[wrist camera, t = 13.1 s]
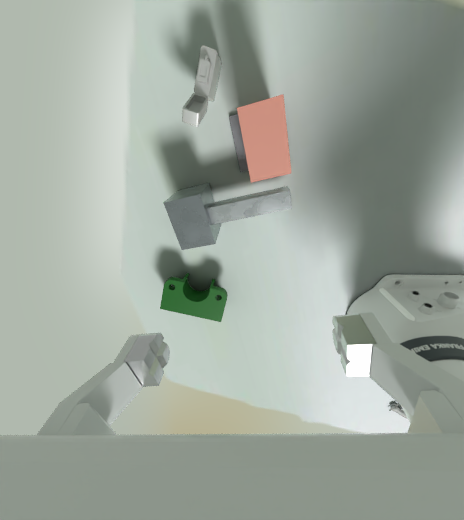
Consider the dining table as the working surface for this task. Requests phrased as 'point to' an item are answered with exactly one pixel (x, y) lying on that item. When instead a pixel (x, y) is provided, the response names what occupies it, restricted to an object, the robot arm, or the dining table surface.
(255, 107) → the tall salmon pink brick
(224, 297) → the clamp
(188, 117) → the lighter
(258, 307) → the dining table surface
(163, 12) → the dining table surface
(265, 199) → the vise
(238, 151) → the mat
